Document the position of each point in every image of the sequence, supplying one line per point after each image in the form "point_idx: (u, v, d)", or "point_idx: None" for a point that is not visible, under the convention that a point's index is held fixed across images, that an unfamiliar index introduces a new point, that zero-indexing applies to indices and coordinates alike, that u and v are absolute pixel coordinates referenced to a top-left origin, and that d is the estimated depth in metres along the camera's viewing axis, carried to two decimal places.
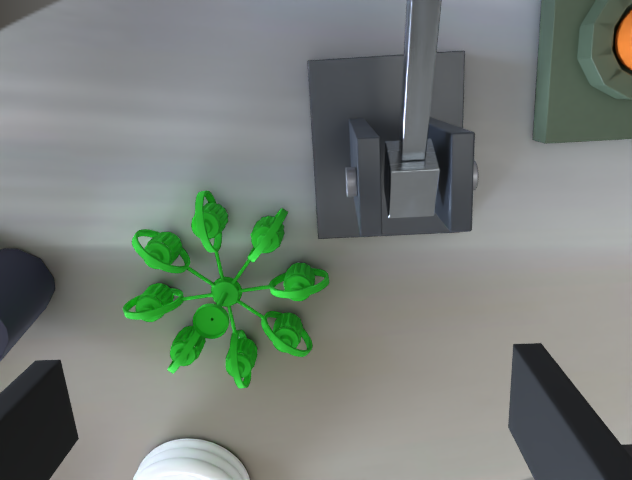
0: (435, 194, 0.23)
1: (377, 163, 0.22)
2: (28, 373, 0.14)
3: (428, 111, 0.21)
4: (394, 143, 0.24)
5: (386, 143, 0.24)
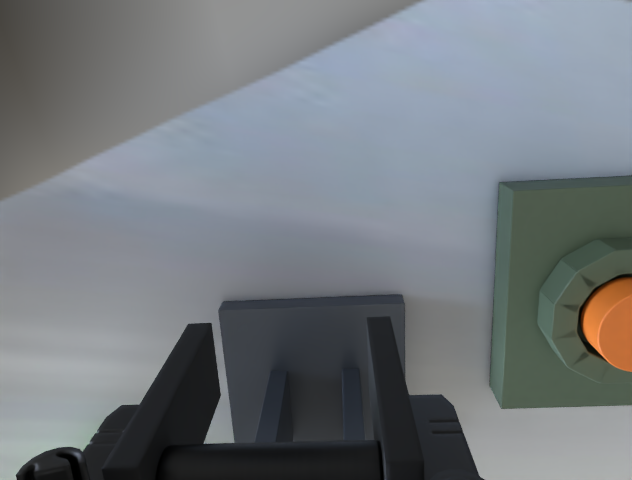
0: None
1: None
2: (189, 333, 0.16)
3: None
4: None
5: None
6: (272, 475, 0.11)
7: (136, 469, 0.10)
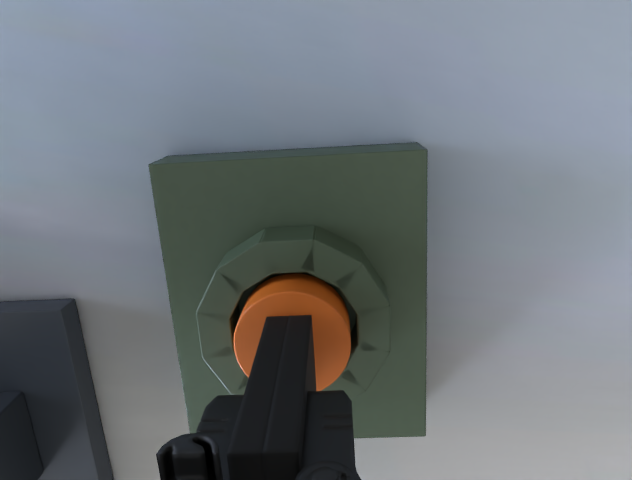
0: None
1: None
2: (270, 325, 0.16)
3: None
4: None
5: None
6: None
7: (260, 455, 0.11)
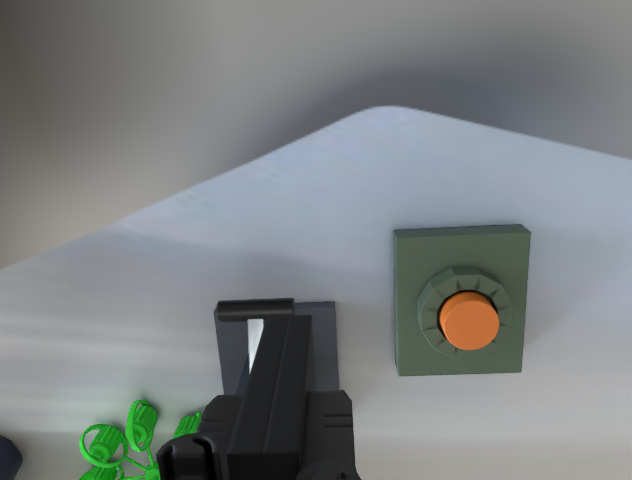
0: None
1: None
2: (270, 325, 0.16)
3: None
4: None
5: None
6: (256, 300, 0.34)
7: (260, 455, 0.11)
